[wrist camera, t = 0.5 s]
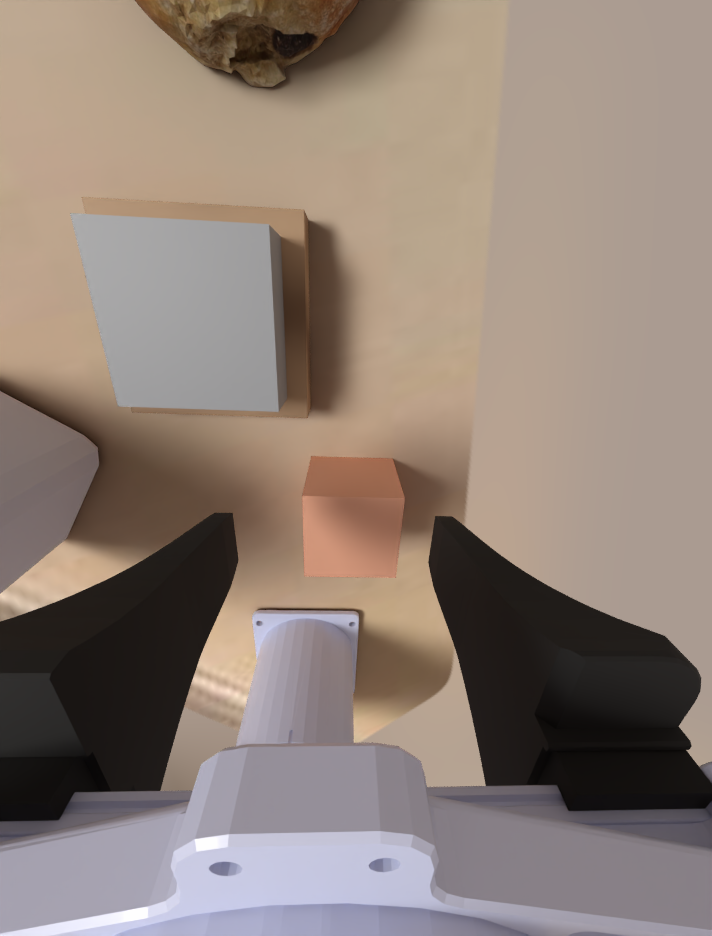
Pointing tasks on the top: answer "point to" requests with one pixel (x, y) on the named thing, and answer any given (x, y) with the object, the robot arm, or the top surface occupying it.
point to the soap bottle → (38, 485)
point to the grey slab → (187, 310)
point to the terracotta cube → (352, 517)
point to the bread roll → (249, 32)
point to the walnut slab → (293, 276)
